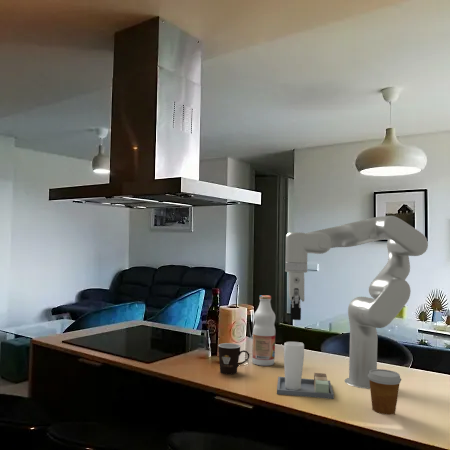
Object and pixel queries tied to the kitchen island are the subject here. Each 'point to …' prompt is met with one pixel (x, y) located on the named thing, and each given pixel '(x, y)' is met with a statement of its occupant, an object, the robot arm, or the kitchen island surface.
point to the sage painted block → (322, 386)
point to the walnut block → (318, 376)
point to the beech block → (320, 378)
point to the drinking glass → (293, 364)
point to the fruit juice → (264, 333)
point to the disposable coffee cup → (384, 390)
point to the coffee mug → (229, 357)
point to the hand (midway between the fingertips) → (295, 317)
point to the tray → (303, 389)
